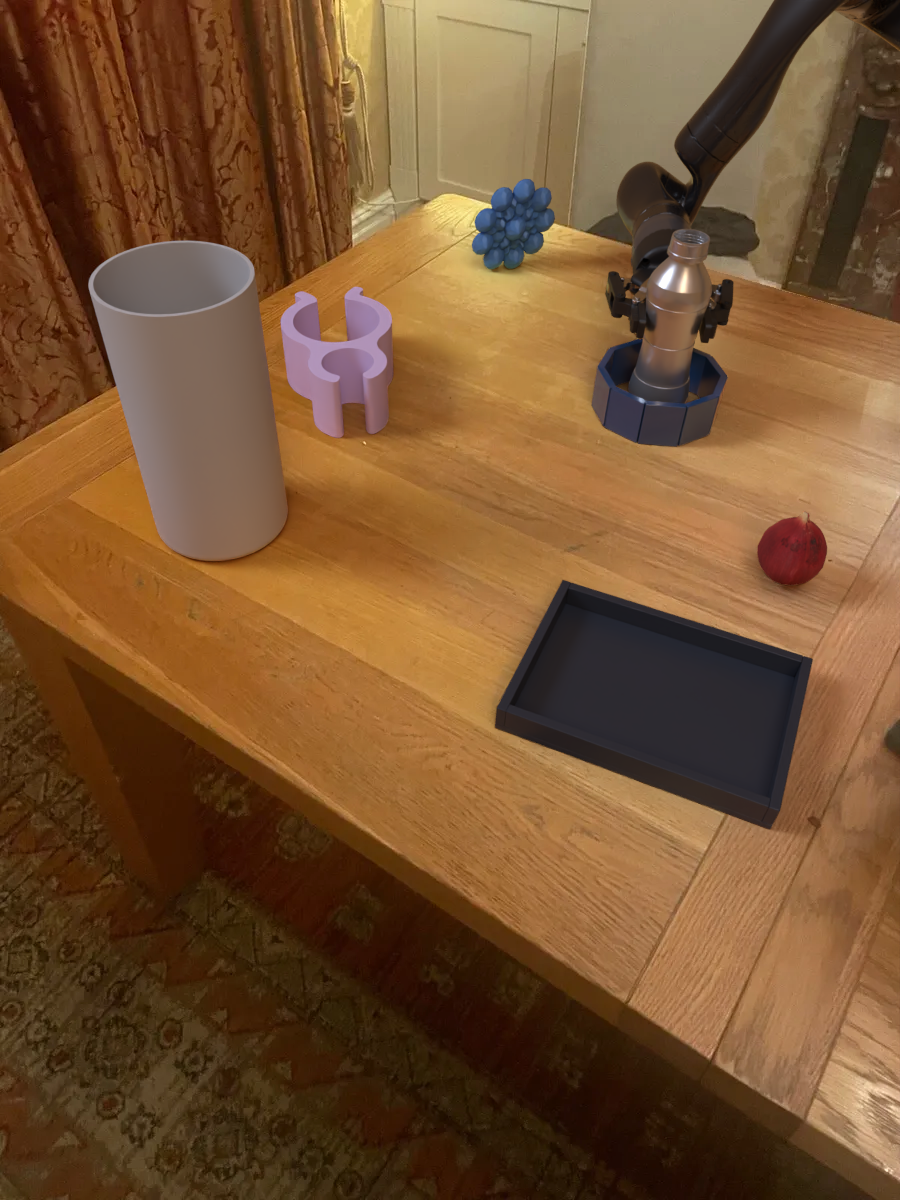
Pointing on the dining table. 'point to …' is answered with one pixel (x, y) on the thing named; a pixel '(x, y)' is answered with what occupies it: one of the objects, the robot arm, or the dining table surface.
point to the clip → (340, 360)
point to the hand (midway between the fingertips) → (674, 332)
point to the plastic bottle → (673, 319)
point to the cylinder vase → (195, 393)
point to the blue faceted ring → (653, 417)
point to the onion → (792, 550)
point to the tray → (660, 701)
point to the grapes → (513, 224)
